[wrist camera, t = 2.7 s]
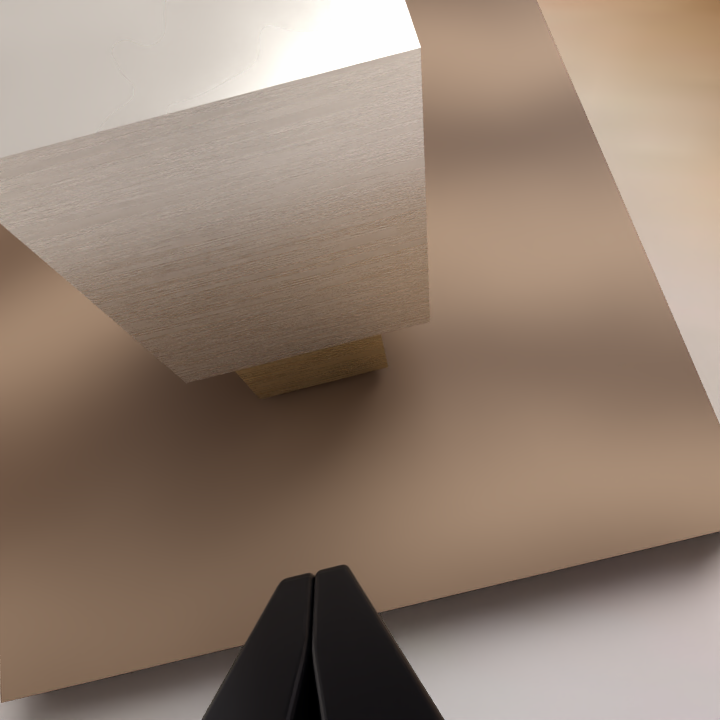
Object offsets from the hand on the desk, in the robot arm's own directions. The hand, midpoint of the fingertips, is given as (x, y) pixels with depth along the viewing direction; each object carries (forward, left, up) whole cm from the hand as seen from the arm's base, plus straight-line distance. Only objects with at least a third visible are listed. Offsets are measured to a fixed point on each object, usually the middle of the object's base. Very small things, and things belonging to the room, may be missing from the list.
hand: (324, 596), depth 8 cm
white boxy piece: (+7, +6, -6) cm, 11 cm away
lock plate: (+9, +7, -7) cm, 14 cm away
